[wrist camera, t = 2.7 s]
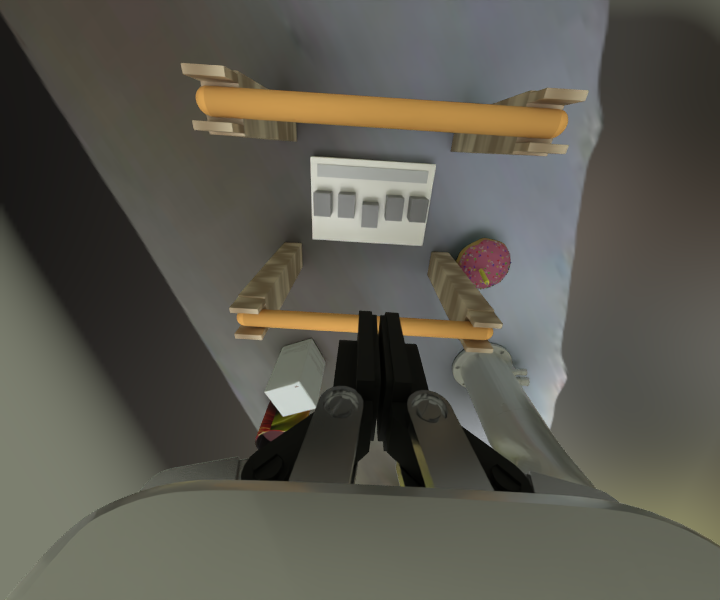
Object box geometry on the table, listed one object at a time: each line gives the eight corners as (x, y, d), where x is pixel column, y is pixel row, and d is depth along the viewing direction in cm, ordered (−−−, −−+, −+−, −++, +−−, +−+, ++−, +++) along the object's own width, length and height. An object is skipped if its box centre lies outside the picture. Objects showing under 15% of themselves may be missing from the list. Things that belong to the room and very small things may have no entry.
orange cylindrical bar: (491, 319, 32) (498, 329, 30) (486, 333, 33) (493, 344, 31) (239, 304, 32) (232, 313, 30) (242, 319, 33) (235, 328, 31)
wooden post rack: (478, 117, 39) (590, 87, 20) (443, 275, 51) (491, 354, 31) (274, 104, 39) (180, 59, 19) (286, 265, 51) (235, 339, 31)
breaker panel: (431, 163, 42) (441, 166, 37) (419, 240, 48) (425, 252, 43) (313, 156, 42) (306, 157, 37) (315, 234, 48) (309, 244, 43)
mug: (286, 425, 72) (272, 472, 62) (266, 387, 66) (247, 433, 55) (321, 420, 71) (313, 467, 61) (304, 381, 65) (292, 427, 54)
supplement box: (281, 346, 60) (262, 391, 49) (312, 337, 58) (300, 381, 47) (296, 370, 63) (282, 417, 52) (326, 362, 62) (317, 409, 51)
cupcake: (448, 279, 51) (469, 312, 41) (449, 234, 47) (473, 258, 37) (495, 274, 51) (529, 307, 40) (501, 228, 47) (540, 251, 36)
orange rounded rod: (562, 111, 22) (578, 108, 21) (552, 139, 23) (567, 139, 22) (201, 87, 22) (187, 82, 20) (207, 117, 23) (193, 114, 21)
